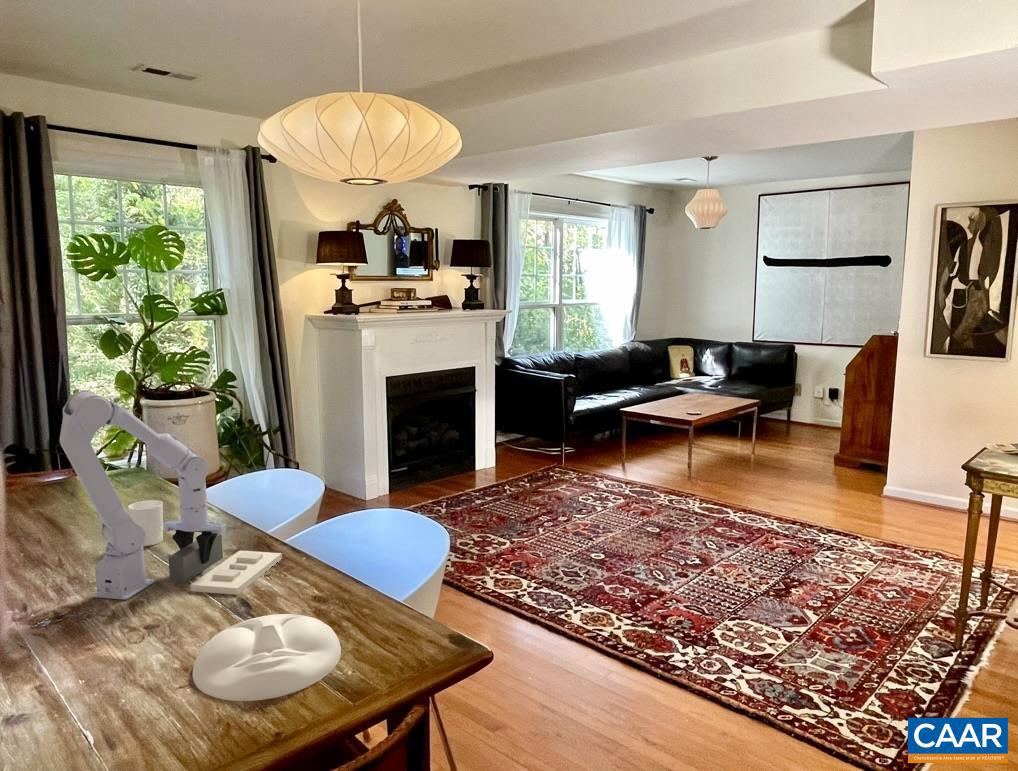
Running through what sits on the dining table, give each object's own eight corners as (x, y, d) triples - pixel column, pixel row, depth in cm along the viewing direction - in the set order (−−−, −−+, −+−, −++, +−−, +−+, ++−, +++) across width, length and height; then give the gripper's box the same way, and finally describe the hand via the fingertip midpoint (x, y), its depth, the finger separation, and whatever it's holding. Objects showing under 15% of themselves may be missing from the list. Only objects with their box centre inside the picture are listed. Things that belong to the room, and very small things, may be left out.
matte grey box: (184, 583, 157) (182, 557, 156) (170, 582, 157) (168, 556, 156) (222, 557, 171) (221, 534, 170) (209, 556, 172) (208, 533, 171)
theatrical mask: (185, 669, 108) (193, 601, 131) (188, 717, 109) (196, 641, 132) (349, 639, 117) (330, 581, 140) (351, 684, 118) (331, 618, 141)
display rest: (237, 594, 151) (237, 583, 150) (190, 591, 153) (190, 580, 152) (282, 559, 170) (281, 549, 170) (240, 556, 172) (239, 546, 172)
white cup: (140, 550, 176) (137, 511, 175) (125, 543, 181) (122, 505, 179) (171, 540, 182) (168, 503, 181) (156, 534, 187) (153, 498, 186)
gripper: (232, 501, 165) (235, 557, 167) (175, 498, 167) (179, 553, 169) (215, 511, 158) (218, 568, 160) (156, 507, 160) (160, 564, 162)
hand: (197, 561), depth 164 cm, fingers closed on matte grey box, 3 cm apart
